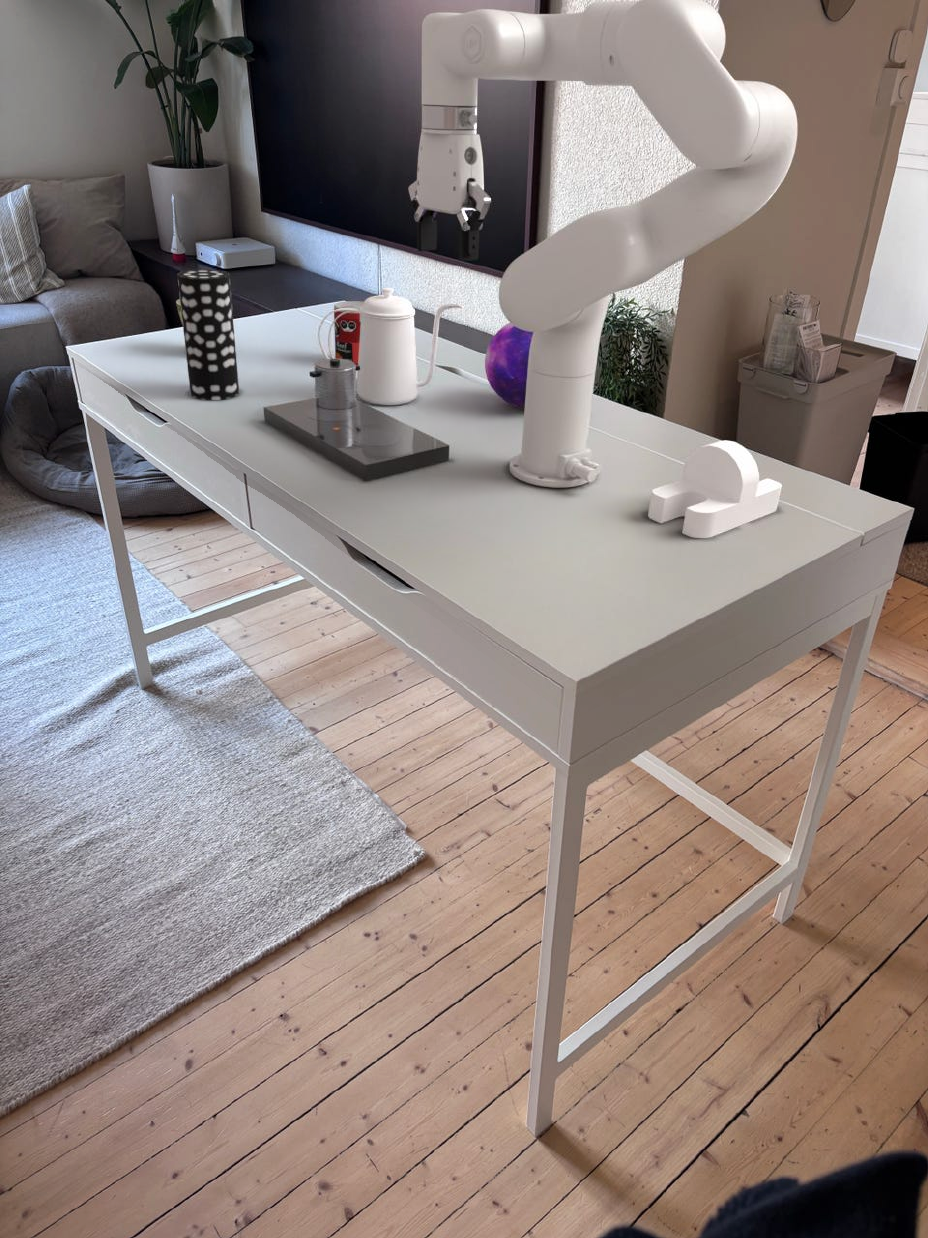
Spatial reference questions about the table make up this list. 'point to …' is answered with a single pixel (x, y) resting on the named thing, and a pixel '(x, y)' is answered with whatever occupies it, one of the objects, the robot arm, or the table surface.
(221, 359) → the white-spotted black cylinder
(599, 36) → the robot arm
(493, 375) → the decorative orb
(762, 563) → the table surface
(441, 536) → the table surface
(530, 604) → the table surface
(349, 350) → the canned food
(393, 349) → the coffeepot
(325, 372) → the pot
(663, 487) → the slotted bracket
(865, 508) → the table surface
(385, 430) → the hot plate
